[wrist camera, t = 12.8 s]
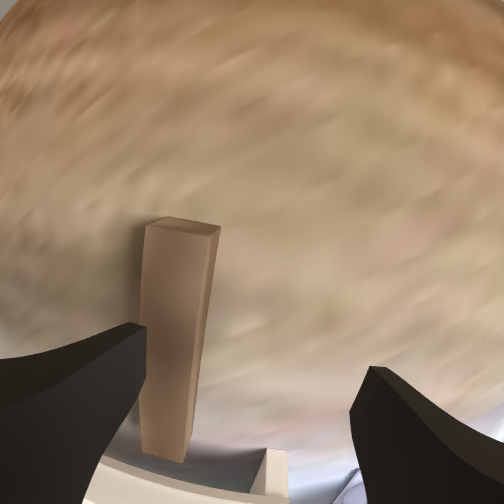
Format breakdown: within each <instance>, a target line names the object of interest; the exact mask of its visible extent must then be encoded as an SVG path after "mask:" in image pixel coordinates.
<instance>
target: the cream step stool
mask: <svg viewBox="0 0 504 504" xmlns="http://www.w3.org/2000/svg"><path fill="white" fill-rule="evenodd" d="M82 504H290V498H288V459H287V451H286V450H277V449H269V448H267V450H266V453H265V455H264V458H263V460H262V463H261V465H260V468H259V470H258V473H257V475H256V478H255V480H254V483H253V485H252V487H251V490H250V492H249V494H247V493H240V492H233V491H227V490H222V489H216V488H211V487H206V486H202V485H197V484H193V483H189V482H184V481H181V480H177V479H173V478H169V477H166V476H162V475H159V474H155V473H152V472H149V471H146V470H143V469H140V468H137V467H134V466H131V465H128V464H125V463H123V462H120V461H117V460H115V459H112V458H110V457H107V456H105V455H102V457H101V459H100V461H99V463H98V465H97V468H96V470H95V472H94V474H93V477H92V479H91V482H90V484H89V487H88V489H87V492H86V494H85V497H84V500H83V502H82Z"/></svg>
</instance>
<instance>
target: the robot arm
mask: <svg viewBox="0 0 504 504" xmlns="http://www.w3.org/2000/svg"><path fill="white" fill-rule="evenodd" d="M146 349H147V327H146V326H142V325H138V324H135V323H131V322H129V323H125V324H122V325H120V326H117V327H114V328H112V329H109V330H107V331H104V332H102V333H99V334H97V335H94V336H92V337H89V338H86V339H84V340H81V341H78V342H75V343H72V344H69V345H66V346H63V347H60V348H57V349H54V350H50V351H47V352H42V353H38V354H33V355H28V356H23V357H17V358H7V359H0V504H82V502H83V500H84V497H85V494H86V492H87V489H88V487H89V484H90V482H91V479H92V477H93V474H94V472H95V470H96V468H97V465H98V463H99V461H100V459H101V457H102V455H103V453H104V451H105V449H106V448H107V446H108V444H109V443H110V441H111V440H112V438H113V436H114V435H115V433H116V432H117V430H118V428H119V427H120V425H121V424H122V422H123V421H124V419H125V417H126V416H127V414H128V413H129V411H130V409H131V408H132V406H133V405H134V403H135V401H136V399H137V397H138V395H139V393H140V391H141V388H142V386H143V384H144V381H145V379H146ZM349 414H350V426H351V434H352V439H353V444H354V447H355V451H356V455H357V459H358V463H359V467H360V470H359V471H357V472H356V474H355V475H354V476H353V478H352V479H351V480H350V482H349V483H348V484H347V486H346V487H345V488H344V490H343V491H342V492H341V493H340V495H339V496H338V497H337V498H336V500H335V501H334V502H333V503H332V504H504V443H502V442H500V441H497V440H495V439H493V438H490V437H488V436H486V435H484V434H482V433H480V432H478V431H476V430H474V429H472V428H470V427H469V426H467V425H465V424H463V423H462V422H460V421H458V420H457V419H455V418H454V417H452V416H451V415H449V414H448V413H446V412H445V411H444V410H442V409H441V408H439V407H438V406H437V405H435V404H434V403H433V402H431V401H430V400H429V399H427V398H426V397H425V396H423V395H422V394H421V393H420V392H418V391H417V390H416V389H415V388H413V387H412V386H411V385H410V384H408V383H407V382H406V381H405V380H403V379H402V378H401V377H399V376H398V375H397V374H395V373H394V372H393V371H391V370H390V369H388V368H386V367H377V366H369V369H368V371H367V374H366V376H365V378H364V381H363V383H362V385H361V388H360V390H359V392H358V394H357V396H356V399H355V401H354V403H353V405H352V407H351V409H350V411H349Z"/></svg>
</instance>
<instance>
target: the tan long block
mask: <svg viewBox="0 0 504 504" xmlns="http://www.w3.org/2000/svg"><path fill="white" fill-rule="evenodd" d="M220 230H221V226H217V225H212V224H207V223H201V222H196V221H191V220H185V219H180V218H174V217H166V218H163V219H161V220H158V221H155V222H153V223H150V224H147V225H146V229H145V238H144V248H143V259H142V271H141V285H140V302H139V325H142V326H146V327H147V349H146V379H145V381H144V384H143V386H142V388H141V391H140V393H139V416H140V432H141V445H142V452H144V453H147V454H150V455H153V456H157V457H160V458H163V459H167V460H171V461H174V462H178V463H182V464H183V461H184V458H185V455H186V452H187V448H188V445H189V442H190V439H191V435H192V430H193V421H194V412H195V403H196V395H197V387H198V379H199V371H200V363H201V355H202V348H203V341H204V333H205V326H206V319H207V312H208V306H209V299H210V292H211V286H212V279H213V273H214V266H215V260H216V254H217V248H218V242H219V236H220Z"/></svg>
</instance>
